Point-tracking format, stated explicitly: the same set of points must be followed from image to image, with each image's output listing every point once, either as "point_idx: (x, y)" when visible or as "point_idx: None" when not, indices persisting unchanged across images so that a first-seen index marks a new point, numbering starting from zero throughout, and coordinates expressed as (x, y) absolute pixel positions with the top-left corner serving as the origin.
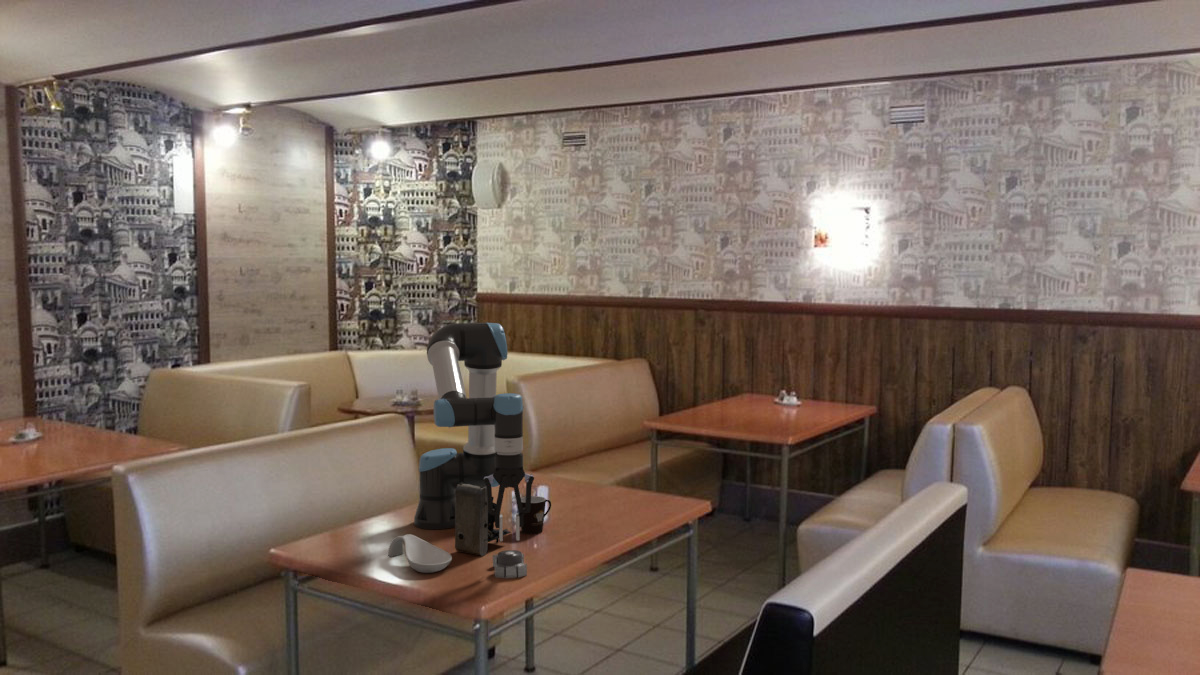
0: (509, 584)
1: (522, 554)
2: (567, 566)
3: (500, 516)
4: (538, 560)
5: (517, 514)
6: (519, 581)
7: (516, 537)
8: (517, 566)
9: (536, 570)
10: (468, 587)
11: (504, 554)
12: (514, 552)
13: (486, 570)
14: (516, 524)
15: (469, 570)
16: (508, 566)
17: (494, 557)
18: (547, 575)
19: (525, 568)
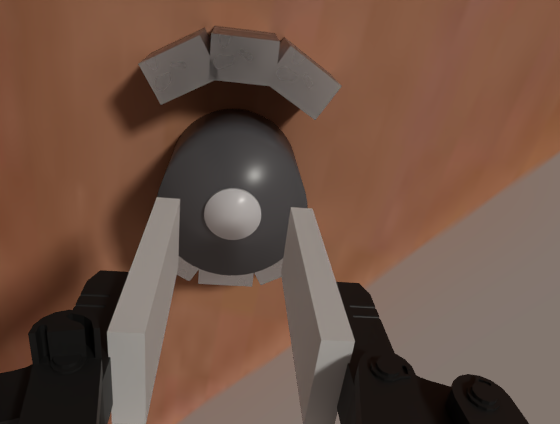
0: (208, 317)
1: (331, 94)
2: (526, 158)
3: (122, 407)
4: (432, 12)
5: (331, 372)
6: (255, 294)
7: (285, 262)
8: (258, 280)
9: (365, 178)
10: (30, 316)
11: (198, 218)
12: (265, 196)
13: (111, 113)
14: (295, 343)
15: (10, 87)
16: (212, 277)
17: (149, 81)
18: (390, 253)
19: None
